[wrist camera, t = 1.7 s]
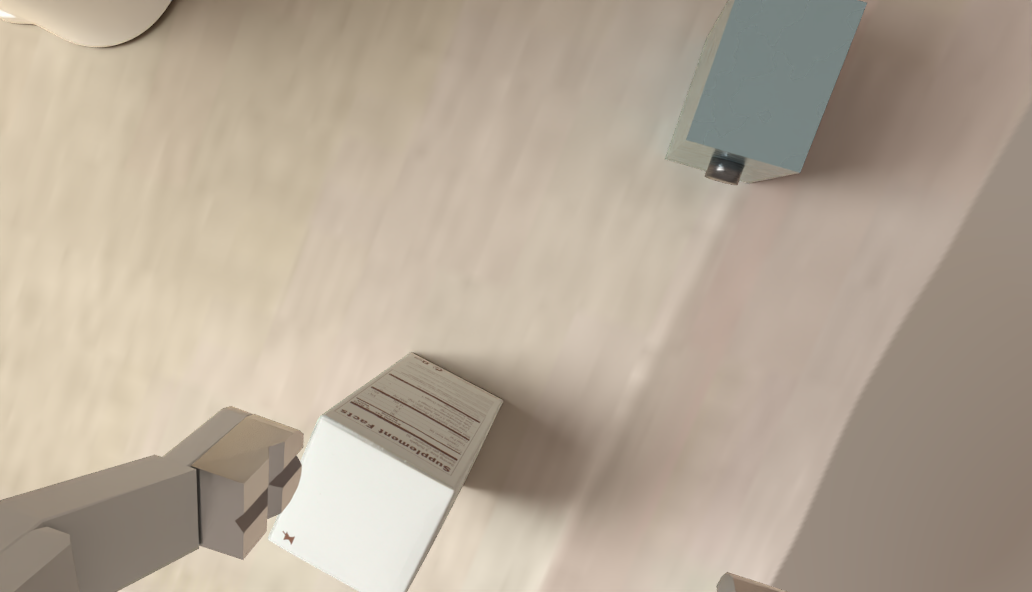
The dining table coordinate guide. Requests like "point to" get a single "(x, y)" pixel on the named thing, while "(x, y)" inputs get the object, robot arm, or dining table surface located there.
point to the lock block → (763, 87)
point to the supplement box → (385, 475)
